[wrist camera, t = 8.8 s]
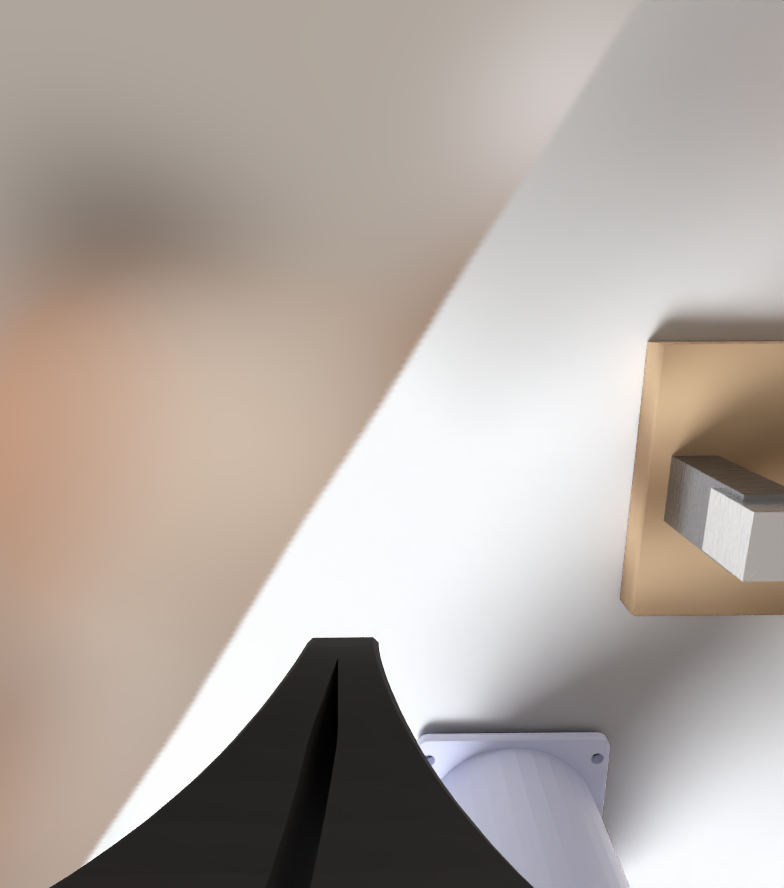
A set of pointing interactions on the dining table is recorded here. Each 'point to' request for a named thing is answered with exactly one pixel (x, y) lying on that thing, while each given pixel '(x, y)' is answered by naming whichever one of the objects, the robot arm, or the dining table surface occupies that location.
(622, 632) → the dining table surface
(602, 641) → the dining table surface
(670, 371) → the oak board
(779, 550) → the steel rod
